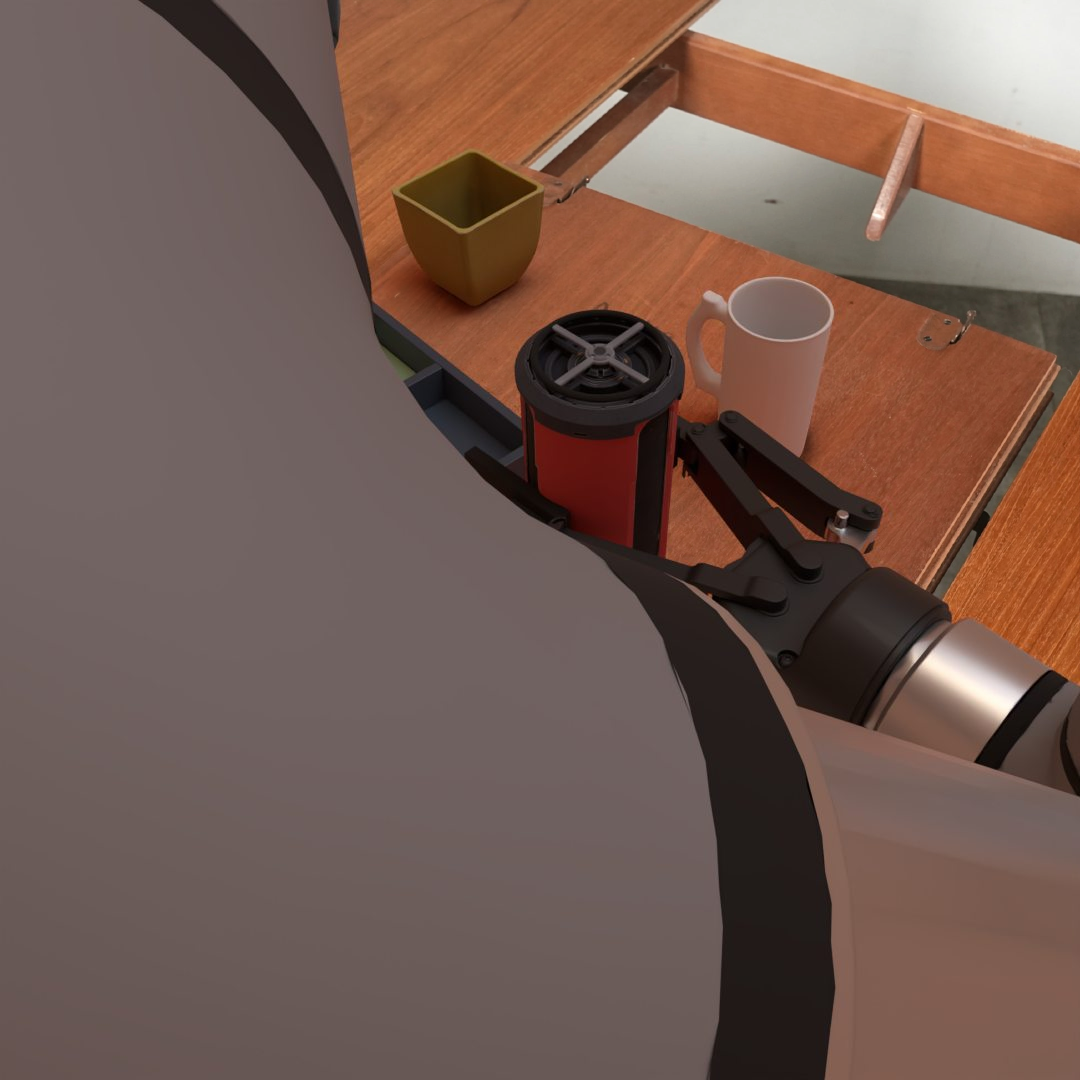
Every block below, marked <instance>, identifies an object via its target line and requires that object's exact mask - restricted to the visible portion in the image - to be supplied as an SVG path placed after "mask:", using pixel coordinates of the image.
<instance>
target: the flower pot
mask: <svg viewBox="0 0 1080 1080" xmlns="http://www.w3.org/2000/svg"><path fill="white" fill-rule="evenodd" d="M545 187H546V186H544V185H543V184H541V183H540V182H538V181H536V180H534V179H532V178H530V177H528V176H526V175H524V174H522V173H521V172H519V171H516V170H515V169H512V168H510V167H508V166H507V165H505V164H503V163H501V162H500V161H498V160H496V159H495V158H493V157H492V156H489V155H488V154H486V153H484V152H483V151H481V150H479V149H476V148H473V147H471V148H468V149H465V150H463V151H461V152H459V153H458V154H456V155H454V156H452V157H450V158H448V159H447V160H445V161H442V162H441V163H438V164H437V165H434V166H433V167H431V168H429V169H427V170H426V171H424V172H421V173H419V174H418V175H416V176H414V177H412V178H410V179H408V180H406V181H404V182H402V183H400V184H398V185H396V186H395V187H393V188H392V189H391V194H392V197H393V201H394V205H395V208H396V212H397V215H398V219H399V223H400V225H401V229H402V232H403V236H404V238H405V241H406V244H407V246H408V249H409V250H410V252H411V254H412V256H413V257H414V259H415V261H416V262H417V264H418V265H419V266H420V268H421V269H422V270H423V271H424V272H425V274H426V275H427V276H428V277H429V278H430V280H432V281H433V282H434V284H436V285H437V286H439V287H440V288H441V289H443V290H445V291H447V292H448V293H450V294H452V295H453V296H455V297H456V298H458V299H459V300H460V301H462V302H464V303H465V304H466V305H468V306H471V307H477V306H480V305H482V304H483V303H485V302H486V301H488V300H489V299H491V298H493V297H496V295H498V294H500V293H501V292H503V291H505V290H507V289H509V288H510V287H511V286H513V285H515V284H517V283H518V281H519V280H520V279H521V278H522V276H524V274H525V272H526V271H527V269H528V268H529V266H530V264H531V263H532V261H533V259H534V257H535V254H536V252H537V248H538V245H539V241H540V236H541V229H542V220H543V211H544V199H545V189H546V188H545Z"/></svg>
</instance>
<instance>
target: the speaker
mask: <svg viewBox="0 0 1080 1080" xmlns="http://www.w3.org/2000/svg"><path fill="white" fill-rule="evenodd" d="M513 372H514V383H515V385H516V388H517V391H518V393H519V399H520V400H519V401H520V402H519V403H520V418H521V424H522V431H523V445H524V466H525V481H527V482H528V483H529V484H531V485H532V486H534V487H535V488H537V489H538V490H539V491H540V493H541V494H542V495H543V496H544V497H546V498H547V499H549V500H551V501H552V502H554V503H556V504H559V505H561V506H562V507H564V508H565V509H567V510H568V511H569V512H570V527H571V530H574V531H578V532H581V533H584V534H587V535H591V536H594V537H597V538H600V539H604V540H607V541H610V542H614V543H617V544H620V545H623V546H627V547H630V548H633V549H636V550H640V551H643V552H646V553H649V554H653V555H656V556H659V557H662V558H666V557H667V546H668V536H669V535H668V532H669V521H670V512H671V511H670V510H671V509H670V508H671V497H672V484H673V473H674V469H673V463H674V451H675V439H676V428H677V416H678V415H679V402H680V401H681V400H682V397H683V395H684V390H685V380H686V363H685V358H684V356H683V353H682V352H681V349H680V348H679V347H678V345H677V343H676V342H675V341H674V340H672V338H671V337H670V336H669V335H667V334H666V333H665V332H663V331H662V330H660V329H659V328H658V327H656V326H655V325H653V324H651V323H650V322H649V321H647V320H645V319H643V318H641V317H638V316H637V315H635V314H631V313H628V312H624V311H619V310H614V309H603V308H602V309H598V308H597V309H586V310H581V311H575V312H573V313H571V312H570V313H569V314H566V315H563V316H561V317H559V318H556V319H554V320H553V321H551V322H550V323H548V324H547V325H545V326H543V327H541V328H540V329H538V330H537V331H535V332H534V333H533V334H532V335H531V336H529V338H527V340H526V341H524V343H523V344H522V345H521V347H520V349H519V351H517V355H516V357H515V360H514V371H513ZM666 559H667V558H666Z"/></svg>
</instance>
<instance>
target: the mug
mask: <svg viewBox="0 0 1080 1080" xmlns="http://www.w3.org/2000/svg"><path fill="white" fill-rule="evenodd" d="M834 317H835V309H834V306H833V303H832V301H831V299H830V298H829V297H828V295H826V294H825V292H823V291H822V290H821V289H819V288H818V287H817V286H814V285H813V284H811V283H808V282H806V281H803V280H800V279H798V278H797V279H796V278H792V277H785V276H765V277H758V278H755V279H751V280H749V281H746V282H744V283H742V284H741V285H739V286H737V287H736V288H735V289H734V290H733V291H731V293H730V295H729V297H728V300H727V301H725V300H724V298H723V296H722V295H720V294H718V293H715V292H714V291H713V290H709V289H708V290H706V291H705V292H704V293H703V294H702V297H701V300H700V302H699V303H698V304H697V305H696V307H695V308H694V310H693V312H692V313H691V315H690V317H689V319H688V321H687V324H686V329H685V346H686V353H687V359H688V362H689V365H690V368H691V372H692V375H693V379H694V383H695V386H696V387H697V389H698V390H700V391H702V392H705V393H707V394H709V395H711V396H712V397H714V398H715V399H716V400H717V402H718V409H717V421H718V420H719V417H720V414H721V413H722V412H724V411H727V410H733V411H737V412H739V413H740V414H742V415H743V416H744V417H746V418H747V419H748V420H750V421H751V422H752V423H754V424H755V425H756V426H758V427H759V428H760V429H762V430H763V431H764V432H766V433H767V434H768V435H770V436H771V437H772V438H774V439H775V440H776V441H778V442H779V443H780V444H782V445H783V446H784V447H786V448H787V449H788V450H790V451H791V452H792V453H794V454H795V455H796V456H798V457H799V458H800V457H801V456H802V454H803V451H804V449H805V444H806V440H807V438H808V437H807V436H808V433H809V428H810V425H811V420H812V416H813V410H814V406H815V402H816V397H817V393H818V388H819V383H820V380H821V375H822V371H823V366H824V362H825V359H826V358H825V357H826V353H827V349H828V345H829V340H830V334H831V329H832V323H833V321H834ZM711 319H712V320H716V321H719V322H720V323H722V324H723V325H724V327H725V328H724V340H723V350H722V352H723V353H722V363H721V374H720V373H718V372H717V371H716V370H714V369H713V368H712V367H711V365H710V363H709V362H708V360H707V358H706V356H705V352H704V350H703V344H702V330H703V327H704V325H705V323H706V322H707V321H709V320H711Z"/></svg>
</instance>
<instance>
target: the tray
mask: <svg viewBox="0 0 1080 1080" xmlns="http://www.w3.org/2000/svg"><path fill="white" fill-rule="evenodd" d="M372 306H373V313H374V320H375V326H376V334H377V339H378V341H379V343H380V346H381V348H382V350H383V352H384V354H385V355H386V357H387V358H388V359H389V361H390V362H391V364H392V365H393V367H394V368H395V370H396V371H397V373H398V374H399V376H400V377H401V379H402V380H403V382H404V383H405V385H406V386H407V388H408V389H409V391H410V392H411V394H412V395H413V397H414V398H415V400H416V401H417V403H418V404H419V406H420V407H421V409H422V410H423V412H424V413H425V415H426V416H427V417H428V419H429V420H430V421H431V422H432V423H433V424H434V425H435V426H436V427H437V428H438V430H439V431H440V432H441V433H442V434H443V435H444V436H445V437H446V438H447V439H448V441H449V442H450V443H451V444H452V445H453V446H454V447H455V448H456V449H457V451H458V452H459V453H460V454H461V455H462V456H463V457H464V453H465V452H467V451H468V450H470V449H471V448H472V447H474V446H477V447H478V448H479V449H481V450H482V451H484V452H485V453H487V454H488V455H489V456H491V457H492V458H494V459H495V460H497V461H498V462H499V463H501V464H502V465H504V466H505V467H507V468H508V469H509V470H511V471H512V472H514V473H515V474H517V475H518V476H519V477H521V478H522V479H524V480H525V466H524V445H523V431H522V424H521V416H519V415H518V414H517V413H516V412H514V411H513V410H512V409H511V408H509V407H508V406H506V404H504V403H502V401H500V400H499V399H498V398H496V397H495V396H494V395H493V394H492V393H490V392H488V390H486V389H485V388H484V387H482V386H481V385H480V384H479V383H477V382H476V381H474V380H473V378H471V377H470V376H468V375H467V374H466V373H465V372H464V371H463V370H461V369H460V368H458V366H456V365H454V364H453V363H452V362H451V361H450V360H448V359H447V358H446V357H444V356H443V355H442V354H441V353H439V352H438V351H437V350H436V349H435V348H433V347H432V346H431V345H429V344H428V343H427V342H425V341H424V340H423V339H421V338H420V337H419V336H418V335H416V334H415V333H414V332H412V330H410V329H409V328H408V327H406V325H404V324H403V323H401V321H399V320H397V318H395V317H394V316H392V315H391V314H390V313H388V312H387V311H386V310H385V309H384V308H382V307H381V306H380V305H378V304H377V303H376V302H375V301H373V300H372Z"/></svg>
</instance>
